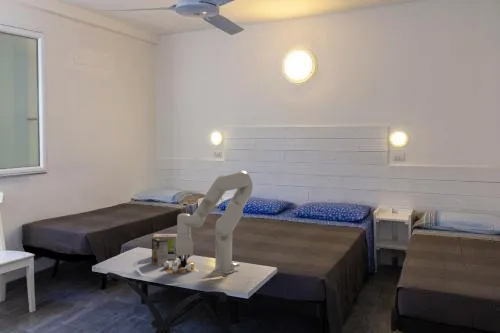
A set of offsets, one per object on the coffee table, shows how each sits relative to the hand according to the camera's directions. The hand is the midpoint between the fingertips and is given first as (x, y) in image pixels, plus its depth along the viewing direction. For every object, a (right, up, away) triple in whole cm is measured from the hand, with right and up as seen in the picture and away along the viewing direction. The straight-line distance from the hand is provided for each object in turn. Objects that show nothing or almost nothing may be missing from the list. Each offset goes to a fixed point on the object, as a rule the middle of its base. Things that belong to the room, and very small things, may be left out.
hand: (183, 266), depth 245 cm
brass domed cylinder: (+3, -1, +2) cm, 4 cm away
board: (-2, -3, -1) cm, 3 cm away
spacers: (-4, -1, -2) cm, 4 cm away
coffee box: (-16, -2, +10) cm, 19 cm away
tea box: (-16, -1, +28) cm, 33 cm away
